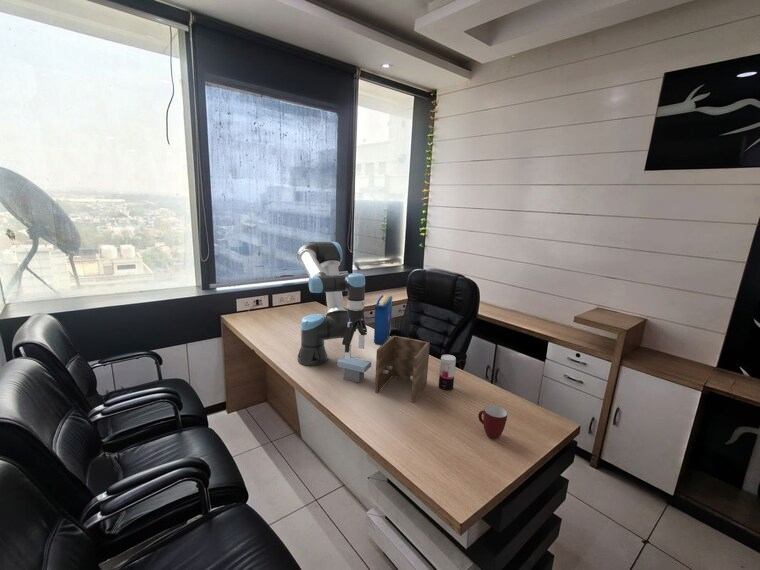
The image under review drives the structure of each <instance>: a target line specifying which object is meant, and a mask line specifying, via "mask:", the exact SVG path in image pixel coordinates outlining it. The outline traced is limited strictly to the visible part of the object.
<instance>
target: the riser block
mask: <svg viewBox="0 0 760 570" xmlns="http://www.w3.org/2000/svg"><path fill="white" fill-rule="evenodd" d="M364 378H365V373H363V372H359V371H355V370H351V369H347V368H343V379H344V380H347V381H352V382H355V383H360V382H361V381H362V380H364Z"/></svg>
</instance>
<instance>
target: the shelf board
mask: <svg viewBox="0 0 760 570" xmlns="http://www.w3.org/2000/svg"><path fill="white" fill-rule="evenodd" d="M336 363H337V364H336V366H337V367H339V368H343V369H344V368H347V369H351V370H355V371H359V372H363V373H364V374H365V373H366V372H367V371H368V370H369V369H371V367H372V360H371V361H370V360H366V359H361V358H357V357H354V356H353V357H352V356H351V359H346V358H345V355H343V356H342V357H341V358H339V359H338V360H337V361H336Z"/></svg>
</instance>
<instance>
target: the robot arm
mask: <svg viewBox="0 0 760 570" xmlns="http://www.w3.org/2000/svg"><path fill="white" fill-rule="evenodd" d="M343 254H344V253H343V250H342V247H341V245H340V243H339V242H338V241H337V242H336V241H308V242H306V243H304V244H303V245H301V246H300V247H299V249H298V251H297V254H296V255H297V256H296V257H297V260H298V262H299V264H300V265H301V266H302V267H303V269H305V272H306V274H307V276H308V277H309V279H308V289H309V292H310V293H314V294H315V293H316V294H321V293H325V297H326V304H327V312H326V313H325V316H324V314H323V313H322V314H321V313H313V314H308V315H306V316H304V317H303V318H302V319H301V322H300V340H301V341H300V347H299V348H300V349H299V351H298V354H297V362H298V363H299V364H300V365H303V366H309V367H314V366H320V365H323V364H325V363H326V362H327V361H328V353H327V350H326V347H325V341H329V340H334V339H342V342H341V344H342V345H343V346H344V356H345V358H346V359H351V357H352V344H351V342H352V340H353V337H354V334H355V332H356V331H358V333H359V334H358V346H357V348H358V349H365V341H366V339H365V336H367V333H368V328H367V323H366V319H365V309H364V308H365V304H366V302H365V293H366V277H365V275H364V274H363V273H347V272H346V273H342V274H340V270H339V266H341V262H342V261H343ZM343 292H347V309H346V308H345V303H344V299H343V297H344V296H343Z"/></svg>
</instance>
